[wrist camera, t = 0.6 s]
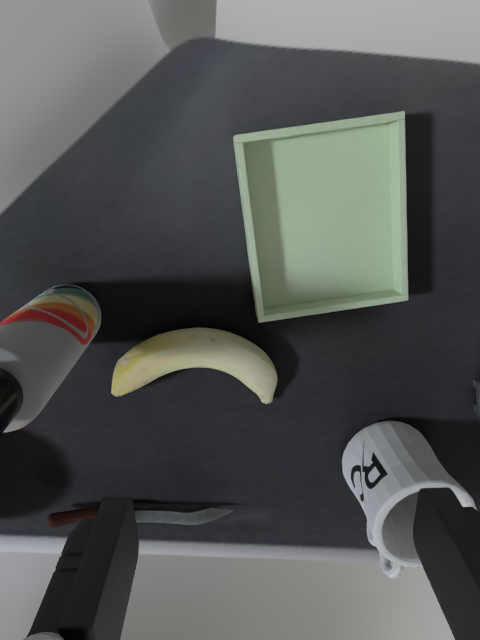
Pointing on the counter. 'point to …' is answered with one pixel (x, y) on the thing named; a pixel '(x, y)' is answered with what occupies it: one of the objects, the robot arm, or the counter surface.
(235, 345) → the fruit
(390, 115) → the green tray
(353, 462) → the mug
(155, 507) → the knife
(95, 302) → the lotion bottle
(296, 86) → the counter surface
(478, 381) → the reflex sight
